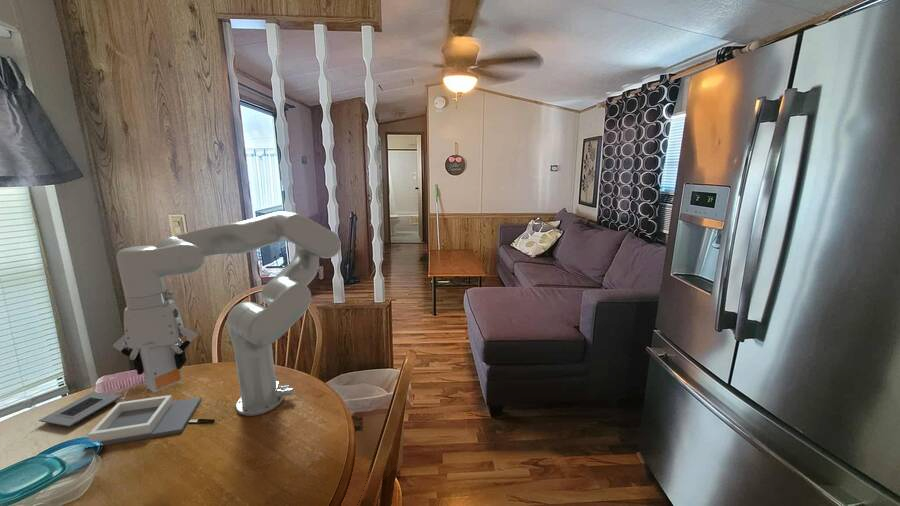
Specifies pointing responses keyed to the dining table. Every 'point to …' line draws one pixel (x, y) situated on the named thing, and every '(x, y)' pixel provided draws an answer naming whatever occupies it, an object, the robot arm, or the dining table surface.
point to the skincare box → (159, 366)
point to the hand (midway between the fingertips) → (162, 368)
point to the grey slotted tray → (80, 409)
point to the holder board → (144, 419)
